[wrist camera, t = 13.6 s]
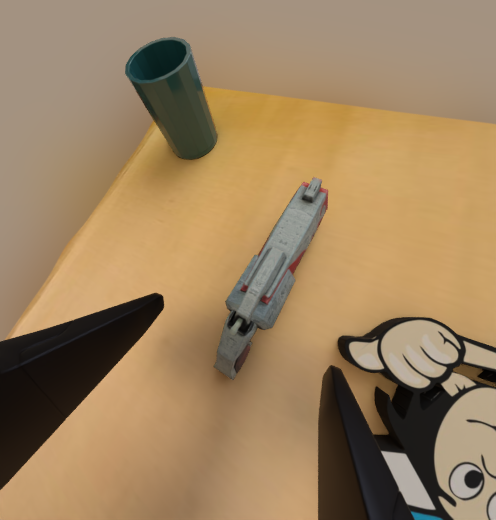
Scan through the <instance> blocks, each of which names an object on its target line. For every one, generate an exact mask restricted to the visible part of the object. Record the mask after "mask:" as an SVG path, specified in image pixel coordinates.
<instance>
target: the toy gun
mask: <svg viewBox="0 0 496 520" xmlns="http://www.w3.org/2000/svg"><path fill="white" fill-rule="evenodd" d="M321 183H322V180H321V179H318V178H315V177H313V179H312V181H311V183H310V184H308V183H305V182H303V183H302V185H301V186H300V187H299V189H298V190H297V192H296V193H295V194H294V196H293V197H292V199H291V201H290V202H289V204H288V205H287V207H286V209H285V210H284V212H283V213H282V215H281V217H280V218H279V220H278V221H277V223H276V225H275V226H274V228H273V230H272V232H271V233H270V235H269V237H268V239H267V241H266V242H265V244H264V246H263V248H262V249H261V251H260V253H259V255H254V257H253V259H252V260H251V262H250V263H249V265H248V266H247V268H246V270H245V271H244V273H243V274H242V276H241V278H240V279H239V281H238V282H237V284H236V286H235V287H234V289H233V290H232V292H231V294H230V295H229V297H228V298H227V300H226V301H225V302H226V306H227V309H229V310H230V311H231V312H230V314H229V316H228V317H227V319H226V321H225V324H224V328H223V332H222V335H221V339H220V343H219V346H218V350H217V360H216V363H215V365H214V367H215V368H216V369H217V370H219V371H220V372H222V373H223V374H225V375H226V376H227V377H229V378H230V379H232V380H234V378H235V376H236V374H237V373H238V371H239V370H240V369H241V367H242V365H243V363H244V361H245V359H246V357H247V355H248V353H249V350H250V347H251V345H252V342H251V341H250V339H251V338H252V337H253V335H254V334H255V332H256V330H257V328H259V329H262V330H266V329H270V328H272V327H273V325H274V323H275V321H276V319H277V317H278V315H279V313H280V311H281V309H282V307H283V305H284V303H285V300H286V298H287V296H288V294H289V292H290V290H291V288H292V286H293V284H294V282H295V279H294V277H293V273H294V271H295V269H296V267H297V266H298V264H299V262H300V260H301V258H302V257H303V255H304V253H305V251H306V249H307V247H308V246H309V244H310V242H311V240H312V238H313V236H314V234H315V232H316V230H317V228H318V226H319V224H320V222H321V220H322V218H323V216H324V214H325V212H326V210H327V206H328V190H326V189H323V188H321Z"/></svg>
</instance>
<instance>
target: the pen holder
mask: <svg viewBox="0 0 496 520" xmlns="http://www.w3.org/2000/svg"><path fill="white" fill-rule="evenodd" d="M125 74H126V76H127V78H128V79H129V80H130V82H131V84H132V86H133V87H134V89H135V90H136V92H137V94H138V95H139V97H140V99H141V100H142V102H143V103H144V105H145V107H146V108H147V110H148V111H149V113H150V115H151V116H152V118H153V120H154V121H155V123H156V125H157V126H158V128H159V129H160V131H161V133H162V134H163V136H164V138H165V139H166V141H167V142H168V144H169V146H170V147H171V149H172V150H173V152H174V153H175V154H176V155H177V156H178V157H180V158H182V159H196V158H199V157H202V156H204V155H206V154H207V153H208V152H210V151H211V150H212V149H213V147H214V146H215V144H216V142H217V131H216V127H215V124H214V121H213V117H212V114H211V111H210V108H209V105H208V101H207V98H206V95H205V92H204V89H203V85H202V82H201V79H200V76H199V73H198V69H197V66H196V63H195V60H194V57H193V53H192V50H191V47H190V45H189V44H188V43H187V42H186V41H185V40H184V39H180V38H176V37H170V38H161V39H159V40H155V41H152V42H150V43H148V44H146V45H145V46H143V47H141V48H140V49H138V50H137V51H136V52H135V53H134V54H133V55H132V56H131V57H130V59H129V60H128V62H127V64H126V68H125Z"/></svg>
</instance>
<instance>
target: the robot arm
mask: <svg viewBox="0 0 496 520" xmlns="http://www.w3.org/2000/svg"><path fill="white" fill-rule="evenodd" d="M163 308H164V300H163V296H162V295H161V294H158V293H153V294H150V295H147V296H144V297H141V298H138V299H135V300H132V301H129V302H126V303H123V304H120V305H117V306H114V307H111V308H108V309H105V310H102V311H99V312H96V313H93V314H90V315H87V316H84V317H81V318H78V319H75V320H74V321H73V320H72V321H69V322H66V323H63V324H60V325H56V326H53V327H50V328H47V329H44V330H40V331H37V332H33V333H30V334H26V335H23V336H19V337H15V338H12V339H8V340H5V341H1V342H0V490H1V489H2V488H3V487H4V486H5V485H6V484H7V483H8V482H9V481H10V479H11V478H12V477H13V476H14V475H15V474H16V473H17V472H18V471H19V470H20V469H21V467H22V466H23V465H24V464H25V463H26V462H27V461H28V460H29V459H30V458H31V457H32V456H33V454H34V453H35V452H36V451H37V450H38V449H39V448H40V447H41V446H42V445H43V444H44V442H45V441H46V440H47V439H48V438H49V437H50V436H51V435H52V434H53V433H54V432H55V431H56V429H57V428H58V427H59V426H60V425H61V424H62V423H63V422H64V421H65V420H66V418H67V417H68V416H69V415H70V414H71V413H72V412H73V411H74V410H75V409H76V408H77V406H78V405H79V404H80V403H81V402H82V401H83V400H84V399H85V398H86V397H87V396H88V394H89V393H90V392H91V391H92V390H93V389H94V388H95V387H96V386H97V385H98V384H99V383H100V381H101V380H102V379H103V378H104V377H105V376H106V375H107V374H108V373H109V372H110V371H111V369H112V368H113V367H114V366H115V365H116V364H117V363H118V362H119V361H120V360H121V359H122V358H123V356H124V355H125V354H126V353H127V352H128V351H129V350H130V349H131V348H132V347H133V346H134V344H135V343H136V342H137V341H138V340H139V339H140V338H141V337H142V336H143V335H144V333H145V332H146V331H147V330H148V328H149V327H150V326H151V325H152V323H153V322H154V321H155V319H156V318H157V317H158V315H159V314H160V313H161V311H162V310H163ZM318 520H415V519H414V517H413V515H412V513H411V511H410V509H409V507H408V505H407V503H406V501H405V499H404V497H403V495H402V493H401V491H399V487H398V485H397V483H396V481H395V479H394V477H393V474H392V472H391V470H390V468H389V466H388V464H387V462H386V460H385V458H384V456H383V454H382V452H381V450H380V448H379V446H378V444H377V442H376V440H375V438H374V436H373V434H372V432H371V430H370V428H369V425H368V423H367V421H366V419H365V417H364V415H363V413H362V411H361V409H360V407H359V405H358V403H357V401H356V399H355V397H354V395H353V393H352V391H351V389H350V387H349V385H348V383H347V381H346V379H345V377H344V374H343V372H342V371H341V369H340V368H338V367H335V366H333V365H330V366H329V368H328V369H327V371H326V372H325V374H324V376H323V380H322V389H321V398H320V408H319V420H318Z"/></svg>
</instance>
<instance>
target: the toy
mask: <svg viewBox="0 0 496 520" xmlns="http://www.w3.org/2000/svg"><path fill="white" fill-rule="evenodd" d="M338 347H339V350H340V353H341V355H342V356H343V357H344V358H345V359H346V360H347V361H348V362H350V363H351V364H353V365H355V366H356V367H358V368H360V369H362V370H364V371H367V372H371V373H379V372H380V373H381V374H382V375H383V376H385V377H386V378H388V379H389V380H391V381H393V382H395V383H396V384H398V387H397V389H396V393H395V395H394V398H393V400H392V403H391V400H390V397H389V395H388V394H387V393H385V392H384V391H382V390H381V389H379V388H378V387H376V391H375V404H376V407H377V411H378V413H379V415H380V417H381V419H382V421H383V423H384V425H385V426H386V428H387V430H388V431H389V435H373V436H374V438H375V440H376V442H377V444H378V446H379V448H380V450H381V452H382V454H383V456H384V458H385V460H386V462H387V464H388V466H389V468H390V470H391V472H392V474H393V477H394V479H395V481H396V483H397V485H398V487H399V491H401V493H402V495H403V497H404V499H405V501H406V503H407V505H408V507H409V509H410V511H411V513H412V515H413V517H414V519H415V520H496V388H495V387H492V386H489V385H486V384H483V383H480V382H477V381H474V380H470V379H469V378H468V377H466V376H464V375H461V374H458V373H455V372H453V368H455V367H457V366H459V365H460V364H466V365H469V366H473V367H477V368H481V369H483V370H484V372H483V373H482V374H481V375H479V376H478V377H480V378H482V379H485V380H488V381H491V382H495V383H496V348H494V347H492V346H489V345H486V344H483V343H480V342H477V341H474V340H471V339H468V338H465V337H463V336H460V335H458V334H456V333H455V332H454V331H453V330H452V329H450V328H449V327H448V326H446V325H445V324H443V323H441V322H439V321H437V320H434V319H432V318H424V317H402V318H395V319H391V320H389V321H386V322H384V323H382V324H380V325H379V326H377V327H376V328H374V329H373V330H372V331H371V332H369V333H367V334H366V335H364V336H362V337H354V336H341V337H340V338H339V340H338Z"/></svg>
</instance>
